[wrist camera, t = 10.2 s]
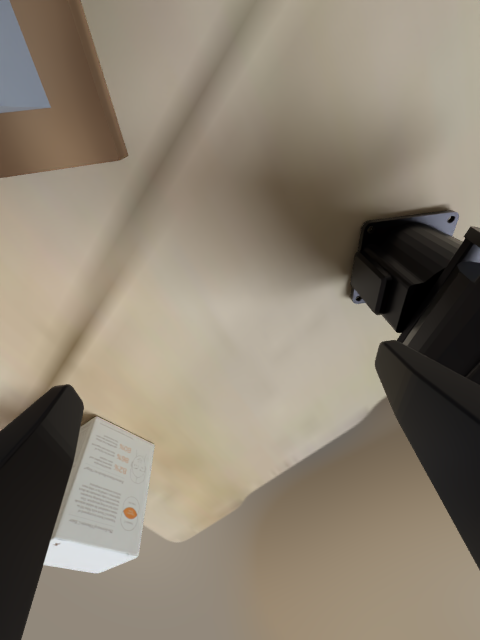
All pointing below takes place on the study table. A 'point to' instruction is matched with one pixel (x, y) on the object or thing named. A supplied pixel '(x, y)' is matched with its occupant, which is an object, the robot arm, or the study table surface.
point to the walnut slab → (60, 96)
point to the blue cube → (17, 68)
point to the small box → (102, 500)
